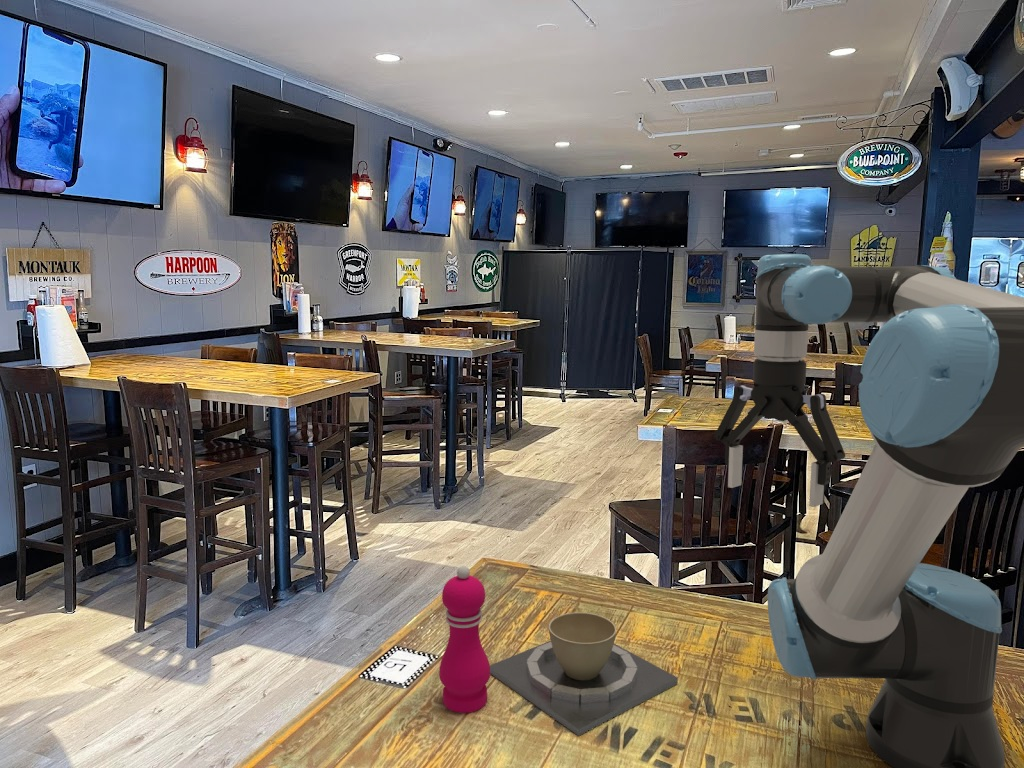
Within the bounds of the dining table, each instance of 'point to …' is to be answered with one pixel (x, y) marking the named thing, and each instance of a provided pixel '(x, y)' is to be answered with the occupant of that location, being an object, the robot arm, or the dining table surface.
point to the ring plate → (582, 685)
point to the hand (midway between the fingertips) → (773, 495)
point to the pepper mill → (464, 645)
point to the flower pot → (582, 643)
